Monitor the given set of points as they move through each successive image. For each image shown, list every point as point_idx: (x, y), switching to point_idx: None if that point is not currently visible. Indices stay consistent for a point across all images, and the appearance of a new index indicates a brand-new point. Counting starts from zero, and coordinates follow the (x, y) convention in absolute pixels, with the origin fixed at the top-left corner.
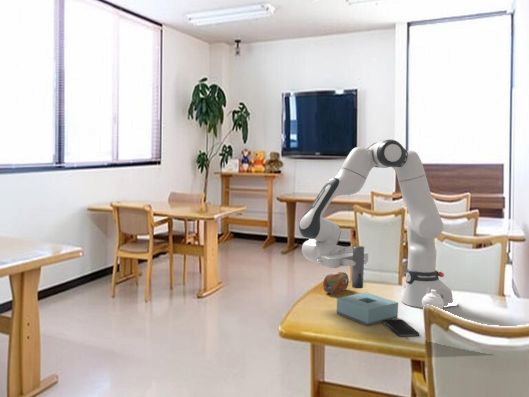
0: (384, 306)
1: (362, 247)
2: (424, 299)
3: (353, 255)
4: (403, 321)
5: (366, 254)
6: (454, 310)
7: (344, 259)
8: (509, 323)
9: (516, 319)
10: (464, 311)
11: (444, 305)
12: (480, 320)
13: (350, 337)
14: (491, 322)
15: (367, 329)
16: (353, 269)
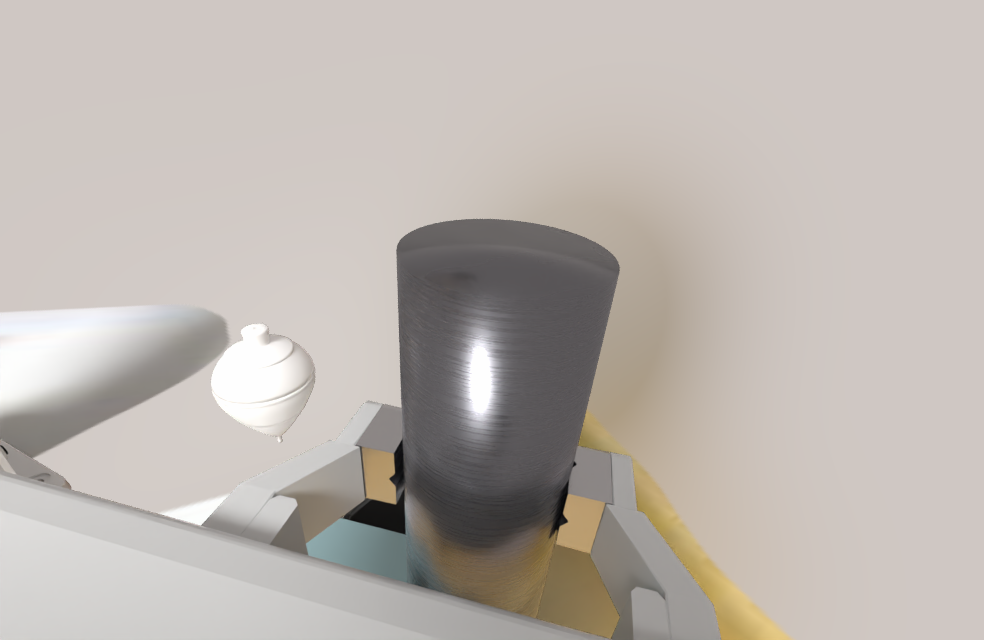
0: (392, 534)
1: (507, 225)
2: (287, 381)
3: (581, 424)
4: (360, 505)
5: (10, 475)
6: (60, 426)
7: (701, 618)
8: (200, 318)
9: (149, 313)
10: (72, 401)
11: (12, 450)
12: (194, 357)
13: (726, 603)
14: (206, 340)
15: (567, 597)
16: (546, 567)
